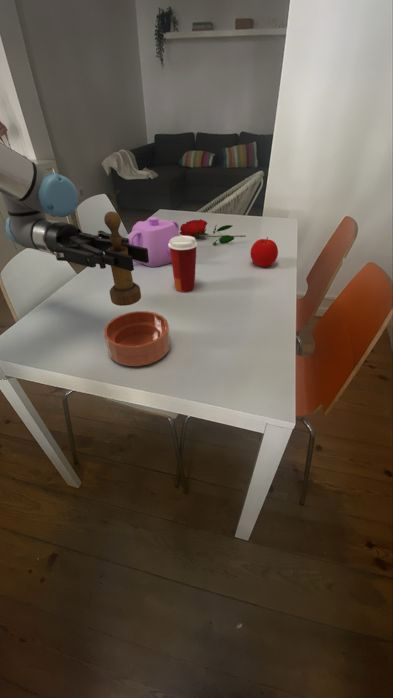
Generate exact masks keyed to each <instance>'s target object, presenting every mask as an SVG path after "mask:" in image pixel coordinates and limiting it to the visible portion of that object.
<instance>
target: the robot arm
mask: <svg viewBox="0 0 393 698" xmlns="http://www.w3.org/2000/svg"><path fill="white" fill-rule="evenodd" d="M0 195H1V198H2V200H3V203H4V206H5V208H6V211H7V214H8V217H7V218H6V221H5V233H6V235H7V237H8V238H9V239H10V240H11V242H13V243H15V244H17V245H19V246H22V247H23V248H26V249H31V250H36V251H39V252H41V253H42V252H43V253H47V254H49V255H52V256H55V259H56V261H59V262H68V263H72V264H76V265H80V266H84V267H88V268H96V267H97V265H98V266H99V268H100V269H101V270H102V269H106V268H107V266H110V267H111V266H115V267H118V268H122V269H125V270H129V271H131V272H133V271H134V270H135V266H134V261H133V260H137V261H140V262H144V263H148V262H149V257H148V249H147V248H143V247H139V246H134V245H130V244H129V237H125V236H122V242H121V246H126V247H127V248H128V255H126V254H122V253H118V252H114V251H110V250H108V248H110V247H113V245H112V243H111V241H110V236H111V233H108V232H106V231H104V230H98V231H97V234H92V233H87V232H83V231H82V230H81V229H80V228H79V227H78V226H77V225H75V224H73V223H69V222H64V221H60V220H56V219H50V218H47V216H46V215H48V216H50V217H53V218H54V217H57V218H66V217H69V216H71V215H72V214H73V213H74V212H75V211H76V209H77V206H78V202H79V196H78V195H79V194H78V190H77V188H76V186H75V184H74V183H73V182H72V181H71V180H70V179H69V178H68V177H66V176H64V175H62V174H60V173H58V172H51V171H49V170H47V169H46V168H44V167H42V166H41V165H39V164H37V163H35V162H34V161H33V160H32V161H31V160H30V159H29V157H27V156H26V155H24V154H22V153H21V154H20V153H19V152H17V151H15V150H14V149H12V148H10V147H9V146H7V145H6V144H5V143H3V142H1V141H0Z"/></svg>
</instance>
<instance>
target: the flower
mask: <svg viewBox="0 0 393 698" xmlns="http://www.w3.org/2000/svg"><path fill="white" fill-rule="evenodd" d="M207 225H208V221H206V220H205V219H201V218H200V219H191V220H189V221H186V222H185V223H182V224H181V225H180V226H179V235H180V236H191V237H194V238H195V239H196V240H197V239H198V238H199V237H207V238H208V237H209V238H218V239H215V241H214V242H213V243H212V246H218V243H217V242H219V243H220V244H228V243H230V242H233V241H234V239H235V238H237V237H239V238H243V237H247V235H229V234H224V235H223V234H221V235H215V234H216V232H217V233H218V234H220V232H222V231H226V230H229V229H230V228H233V226H234V225H233V224H232V225H231V224H226V225H222V226H220V227H219V228H217V226H218V224H216V225H215V226H214V228H213V231H212V234H213V235H210V234H209V233H206V231H207V228H206V227H207Z"/></svg>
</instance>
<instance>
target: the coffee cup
mask: <svg viewBox="0 0 393 698" xmlns="http://www.w3.org/2000/svg"><path fill="white" fill-rule="evenodd" d="M168 246H169V247H170V252H171V260H172V262H171V267H172V274H173V282H174V288H175V290H176V291H177V292H179V293H190V292H193V291H194V290H195V288H196V287H195V285H196V265H197V246H198V242H197V238H196V239H195V238H194V237H192V236H183V235H180V236H176V237H173V238H172V239H171V240H170V241H169V244H168Z"/></svg>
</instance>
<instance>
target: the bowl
mask: <svg viewBox="0 0 393 698" xmlns="http://www.w3.org/2000/svg"><path fill="white" fill-rule="evenodd" d="M103 337H104V340H105V344H106V348H107V353H108V356H109V357H110V358H111V360H113V361H114V362H116V363H117V364H120V365H123V366H127V367H141V366H146V365H150V364H153V363H155V362H157V361H159V360H161V359H162V358H163V357H165V356H166V354H167V353H168V352H169V350H170V348H171V347H170V346H171V338H170V326H169V322H168V320H167V318H165V317H164V316H163V315H161V314H159V313H156V312H153V311H147V310H145V311H144V310H136V311H129V312H126V313H122V314H120V315H117V316H116V317H114V318H112V319H111V320H110V321H109V322H108V323H106V325H105V327H104V329H103Z"/></svg>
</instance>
